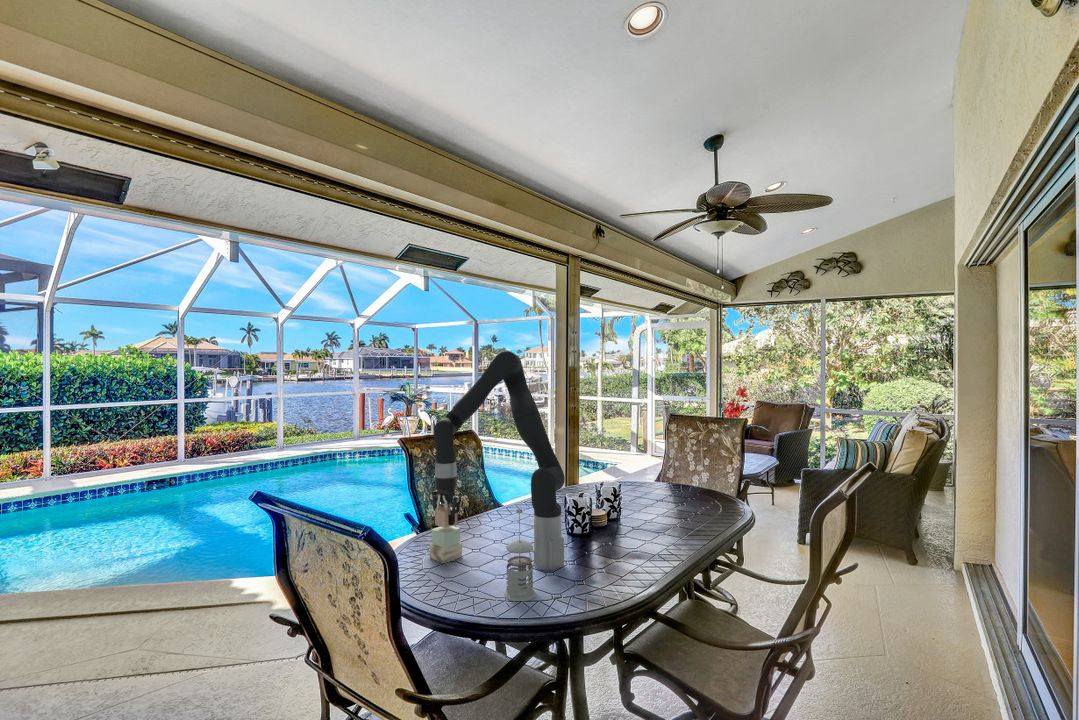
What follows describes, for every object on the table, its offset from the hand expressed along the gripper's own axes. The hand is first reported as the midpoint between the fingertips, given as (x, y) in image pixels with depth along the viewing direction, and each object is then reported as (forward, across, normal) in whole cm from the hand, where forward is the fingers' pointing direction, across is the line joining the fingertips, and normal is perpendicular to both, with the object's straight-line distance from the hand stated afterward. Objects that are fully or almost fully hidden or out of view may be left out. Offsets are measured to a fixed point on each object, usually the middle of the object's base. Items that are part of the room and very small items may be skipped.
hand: (446, 522), depth 172 cm
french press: (+12, -39, +2) cm, 41 cm away
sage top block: (+7, 0, 0) cm, 7 cm away
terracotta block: (+1, 0, 0) cm, 1 cm away
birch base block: (+12, 0, 0) cm, 12 cm away
